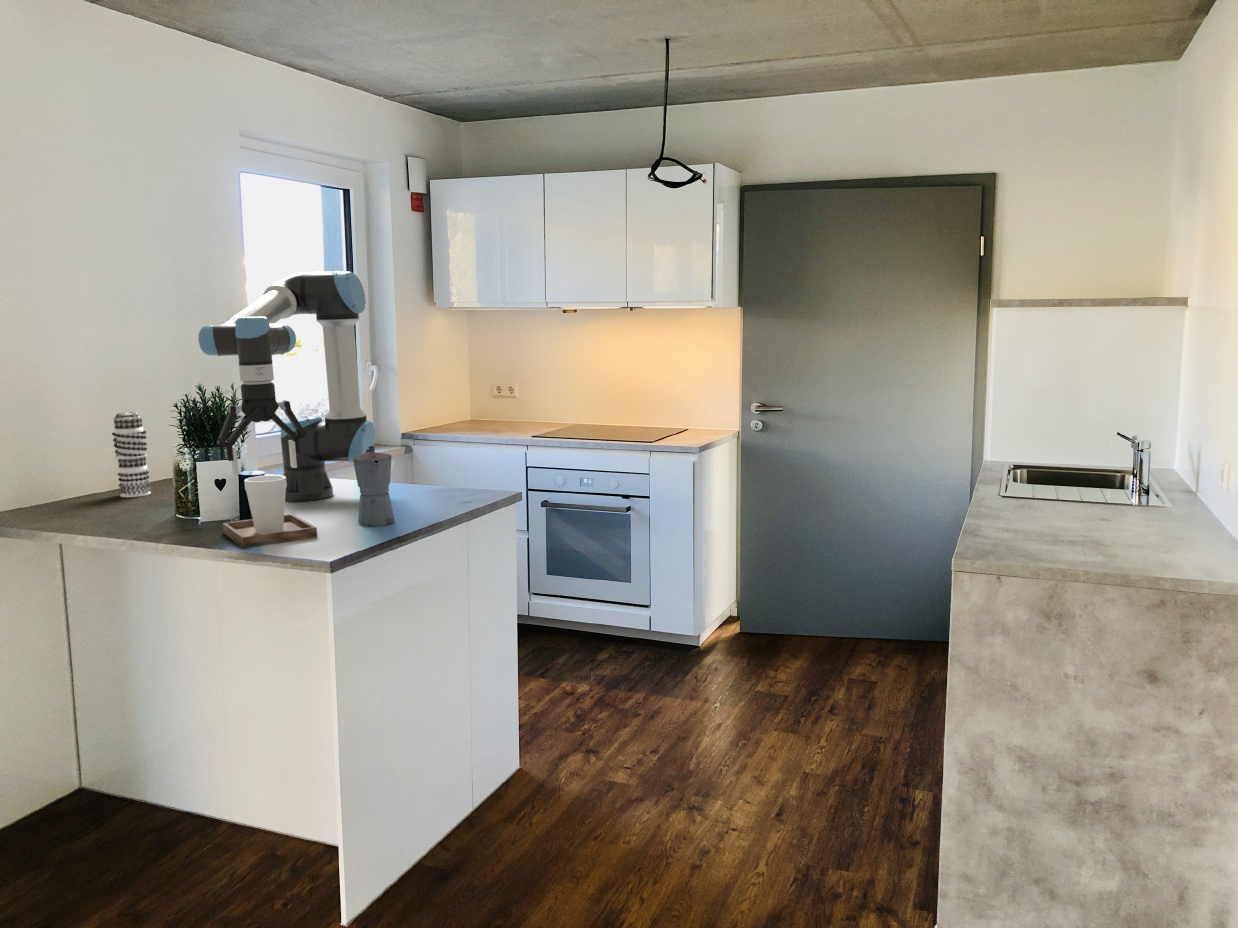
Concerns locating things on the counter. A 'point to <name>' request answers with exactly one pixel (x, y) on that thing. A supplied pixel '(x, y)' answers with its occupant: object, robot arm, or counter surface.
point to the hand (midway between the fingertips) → (265, 470)
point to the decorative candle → (131, 454)
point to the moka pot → (374, 488)
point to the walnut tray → (249, 538)
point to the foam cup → (267, 502)
